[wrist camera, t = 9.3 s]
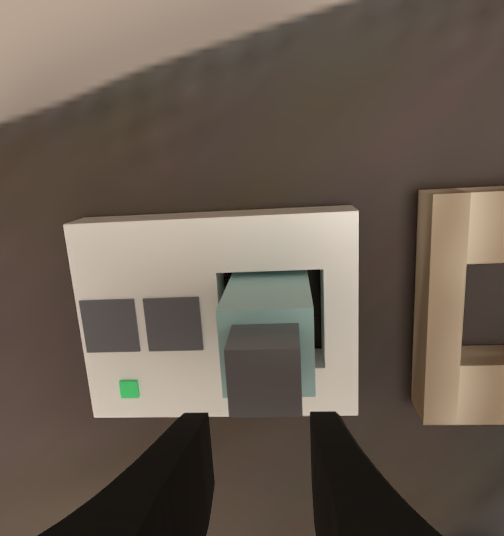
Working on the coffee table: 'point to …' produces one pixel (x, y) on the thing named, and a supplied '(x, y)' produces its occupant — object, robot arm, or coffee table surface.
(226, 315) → the plug
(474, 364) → the holster
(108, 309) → the port housing
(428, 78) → the coffee table surface
